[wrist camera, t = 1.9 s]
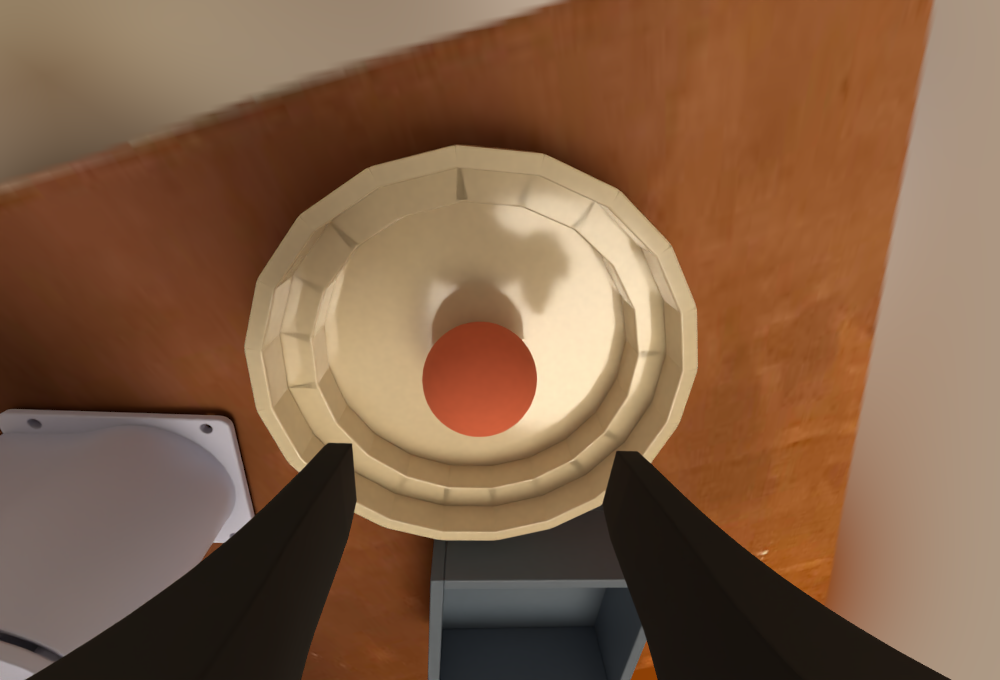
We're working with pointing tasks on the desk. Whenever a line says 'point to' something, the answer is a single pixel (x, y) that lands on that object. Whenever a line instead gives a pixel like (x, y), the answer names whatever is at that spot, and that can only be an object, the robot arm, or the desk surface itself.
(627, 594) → the bin
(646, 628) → the robot arm
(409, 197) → the bowl
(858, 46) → the desk surface
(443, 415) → the toy ball
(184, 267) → the desk surface
